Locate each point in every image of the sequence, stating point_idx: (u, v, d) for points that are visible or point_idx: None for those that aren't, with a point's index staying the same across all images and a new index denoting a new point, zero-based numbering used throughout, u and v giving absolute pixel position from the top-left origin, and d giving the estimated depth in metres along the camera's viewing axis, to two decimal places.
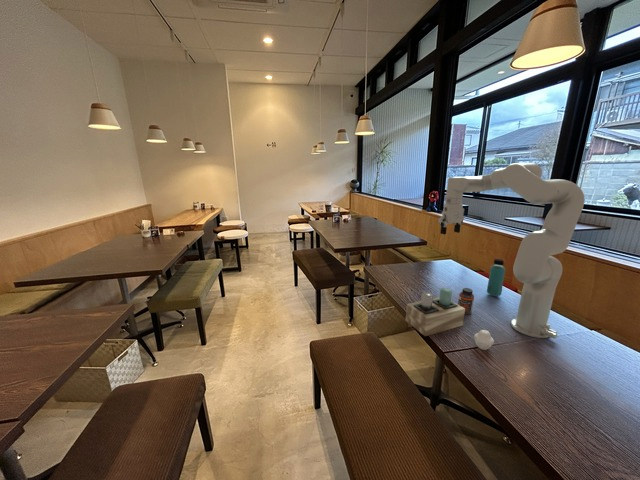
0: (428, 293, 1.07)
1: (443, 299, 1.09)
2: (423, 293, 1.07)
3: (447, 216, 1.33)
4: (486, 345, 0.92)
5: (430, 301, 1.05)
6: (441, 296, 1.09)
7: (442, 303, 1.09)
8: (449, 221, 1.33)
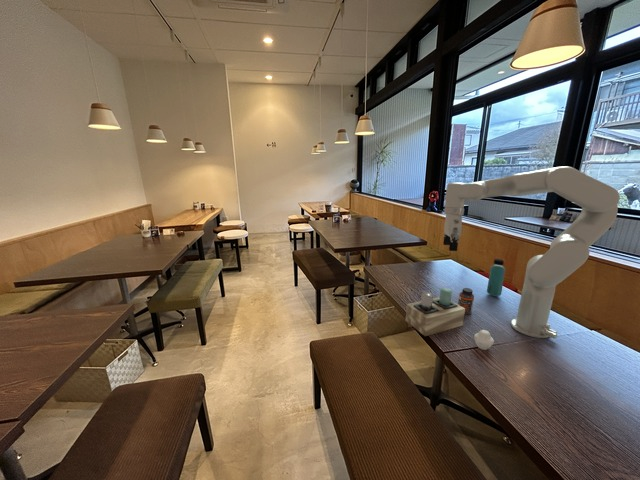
0: (428, 293, 1.07)
1: (443, 299, 1.09)
2: (423, 293, 1.07)
3: (459, 229, 1.12)
4: (486, 345, 0.92)
5: (430, 301, 1.05)
6: (441, 296, 1.09)
7: (442, 303, 1.09)
8: (460, 234, 1.13)
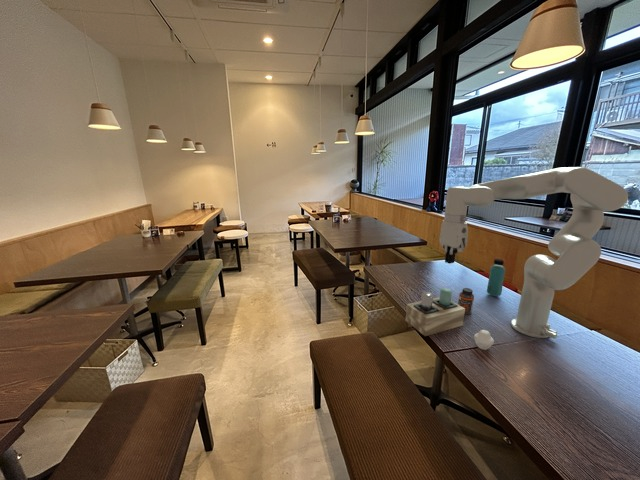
0: (428, 293, 1.07)
1: (443, 299, 1.09)
2: (423, 293, 1.07)
3: (466, 239, 0.99)
4: (486, 345, 0.92)
5: (430, 301, 1.05)
6: (441, 296, 1.09)
7: (442, 303, 1.09)
8: None
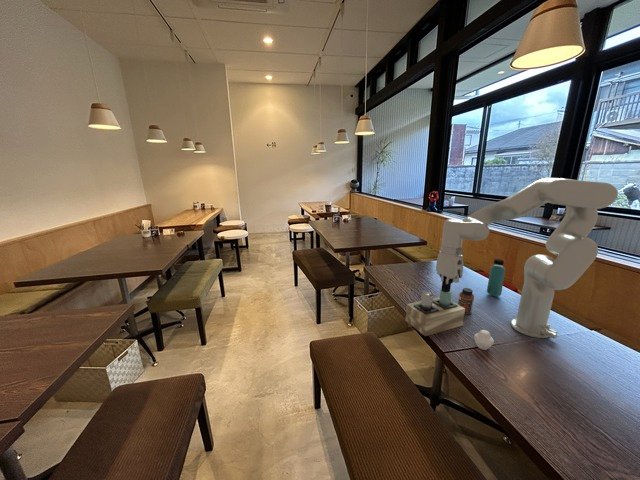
0: (428, 293, 1.07)
1: (443, 300, 1.09)
2: (423, 293, 1.07)
3: (462, 270, 1.03)
4: (486, 345, 0.92)
5: (430, 301, 1.05)
6: (441, 297, 1.09)
7: (442, 304, 1.09)
8: None
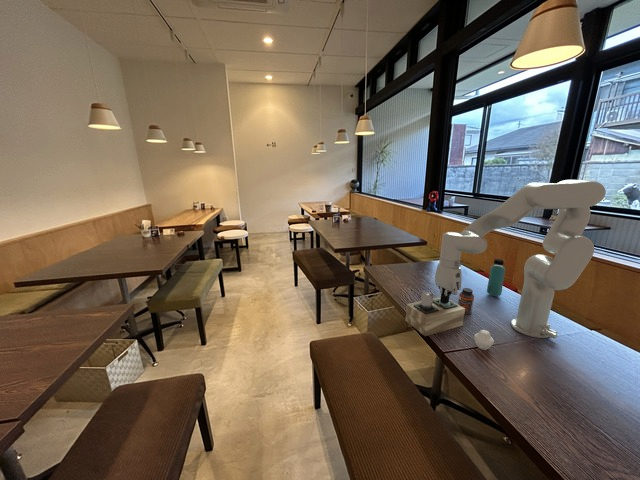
0: (428, 293, 1.07)
1: None
2: (423, 293, 1.07)
3: (460, 283, 1.04)
4: (486, 345, 0.92)
5: (430, 301, 1.05)
6: None
7: None
8: None
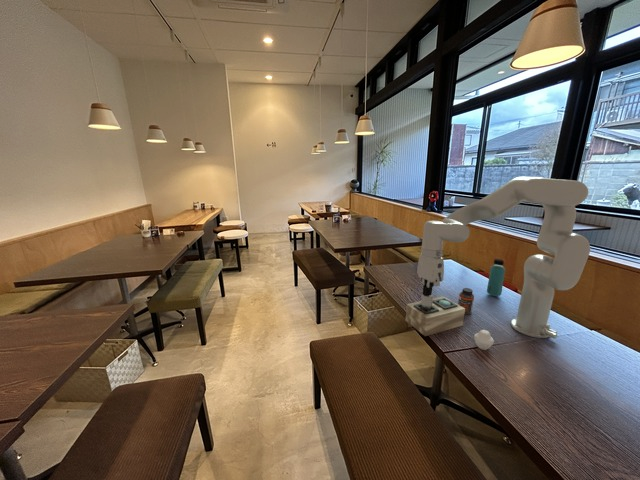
0: None
1: None
2: None
3: (442, 273, 0.99)
4: (486, 345, 0.92)
5: (430, 302, 1.05)
6: None
7: None
8: None
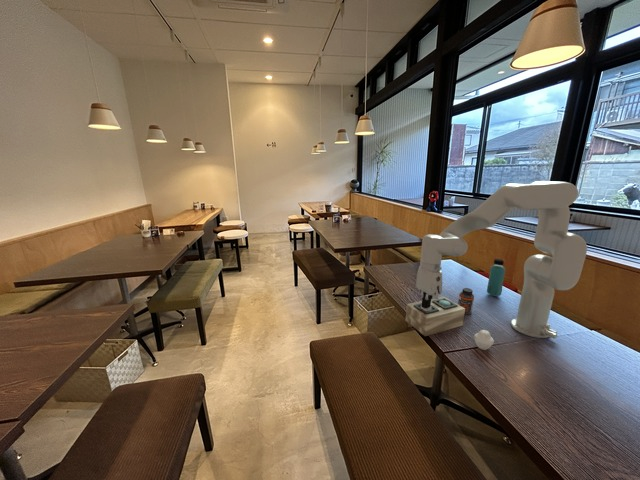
0: None
1: None
2: None
3: (441, 287, 1.01)
4: (486, 345, 0.92)
5: None
6: None
7: None
8: None
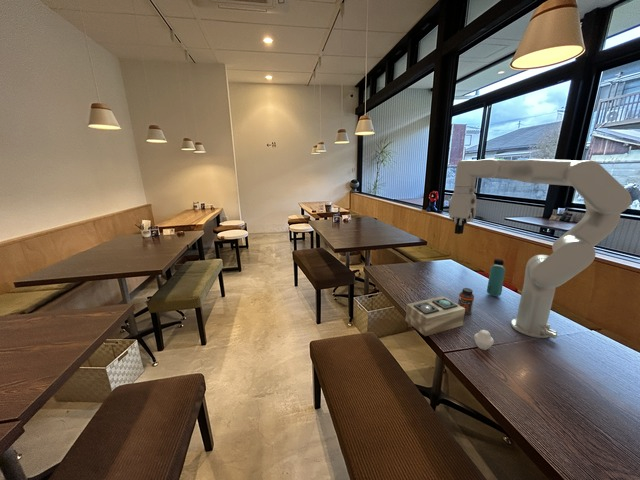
0: (427, 306, 1.08)
1: None
2: (422, 306, 1.08)
3: (475, 209, 1.06)
4: (486, 345, 0.92)
5: None
6: None
7: None
8: None
